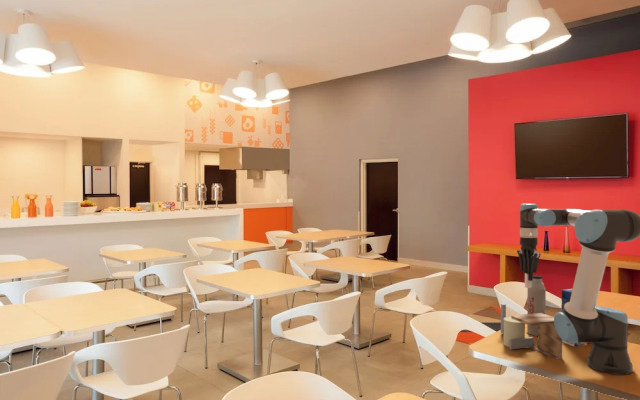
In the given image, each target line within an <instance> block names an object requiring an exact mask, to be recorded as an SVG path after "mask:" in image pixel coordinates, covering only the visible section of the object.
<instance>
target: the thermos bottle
mask: <svg viewBox="0 0 640 400" xmlns="http://www.w3.org/2000/svg"><path fill="white" fill-rule="evenodd" d="M546 291H547V289H546V287H545V283H544V282H543V276H541V275H533V280H532V287H531V288H527V298H526V299H527V300H526V301H527V304H526V305H527V307H526V308H527V313H526V314H534V313H543V314H546V309H547V308H546V305H547V304H546V299H547V298H546V295H547V294H546ZM526 330H527V331H526V332H527V334H529V335H531V336H536V337H538V326H530V325H527V324H526Z"/></svg>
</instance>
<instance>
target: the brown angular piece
mask: <svg viewBox="0 0 640 400" xmlns="http://www.w3.org/2000/svg"><path fill="white" fill-rule="evenodd" d="M510 317H511V318H512V319H514V320H517V321H519V322H522V323H524V324H525V325H526V326H527V325H530V326H538V336H537V347H536V346H535V347H530V348H531V349H533V350H535V351H538V352H540V353H542V354H545V355H547V356H549V357H551V358H553V359H556V360H561V359H562V358H563V342H562V339H561V338H560V337H559V335H558V333H557V331H556V329H555V325H554V316H552V315H548V314H546V313H545V314H543V313H534V314H527V313H526V314H515V315H511V316H510ZM502 335H503V336H504V334H503V333H502Z"/></svg>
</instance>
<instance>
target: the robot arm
mask: <svg viewBox="0 0 640 400" xmlns="http://www.w3.org/2000/svg"><path fill="white" fill-rule="evenodd" d="M538 226H540V227H551V226H552V227H556V226H558V227H559V226H561V227H562V226H563V227H564V226H568V227H574V228H573V229H574V231H575V233H574V234H575V238H576V239H577V240H578V244H579V245H580V246H581V252H580V256H579V260H578V265H577V268H576V273H575V278H574V282H573V285H572V289H573V290H572V294H571V298H570V302H568V303H566V304H565V305H564V309H563V312H562V311H558V312H556V313H555V314H554V316H553V317H554V325H555V329H556V331H557V333H558V335H559V337H560V338H561V339H562V340H563V341H565V342H568V343H581V342H593V344H591V345H592V346H591V348H590V351H589V353H588V356H587V359H586V360H587V363H586V364H587V366H588V367H590V368H591V369H593V370H596V371H599V372H602V373H606V374H612V375H629V374H632V373H633V371H634V370H633V369H634V368H633V363H632V361H631V357H630V355H629V351H628V342H629V341H628V337H629V336H628V335H629V334H628V330H629V321H628V314H627V313H626V312H624V311H622V310H619V309H616V308H611V307H606V306H600V305H597V302H598V298H599V294H600V289H601V287H602V286H601V285H602V282H603V278H604V274H605V271H606V266H607V262H608V257H609V254H610V253H613V252H615V251H616V247H617V244H618V243H627V242H632V241H634V240H638V238H640V214H639V213H637V212H635V211H632V210H629V209H592V210H586V209H585V210H584V209H580V208H539V206H538V204H536V203H521V204H520V208H519V236H520V237H519V245H520V246H521V247H520V249H518V250H516V253H517V254H518V260H519V266H520V271H521V272H523V274H524V276H523V279H524V288H526V289H528V288H531V287H532V280H533V276H534V274H535V273H537V272H538V265H539V259H540V257H541V255H542V254H541V253H540V252H538V251H537V246H538V235H539V234H538V232H539V231H538V228H539V227H538Z"/></svg>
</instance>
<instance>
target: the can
mask: <svg viewBox="0 0 640 400" xmlns="http://www.w3.org/2000/svg"><path fill="white" fill-rule="evenodd" d="M517 338H526V324H524V323H522V322H519V321H517V320H514V319H512V318H511V316H506V317H505V318H504V335H503V342H502V344H503V345H504V346H505V347H506V348H507V347H508V348H509V339H517Z"/></svg>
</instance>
